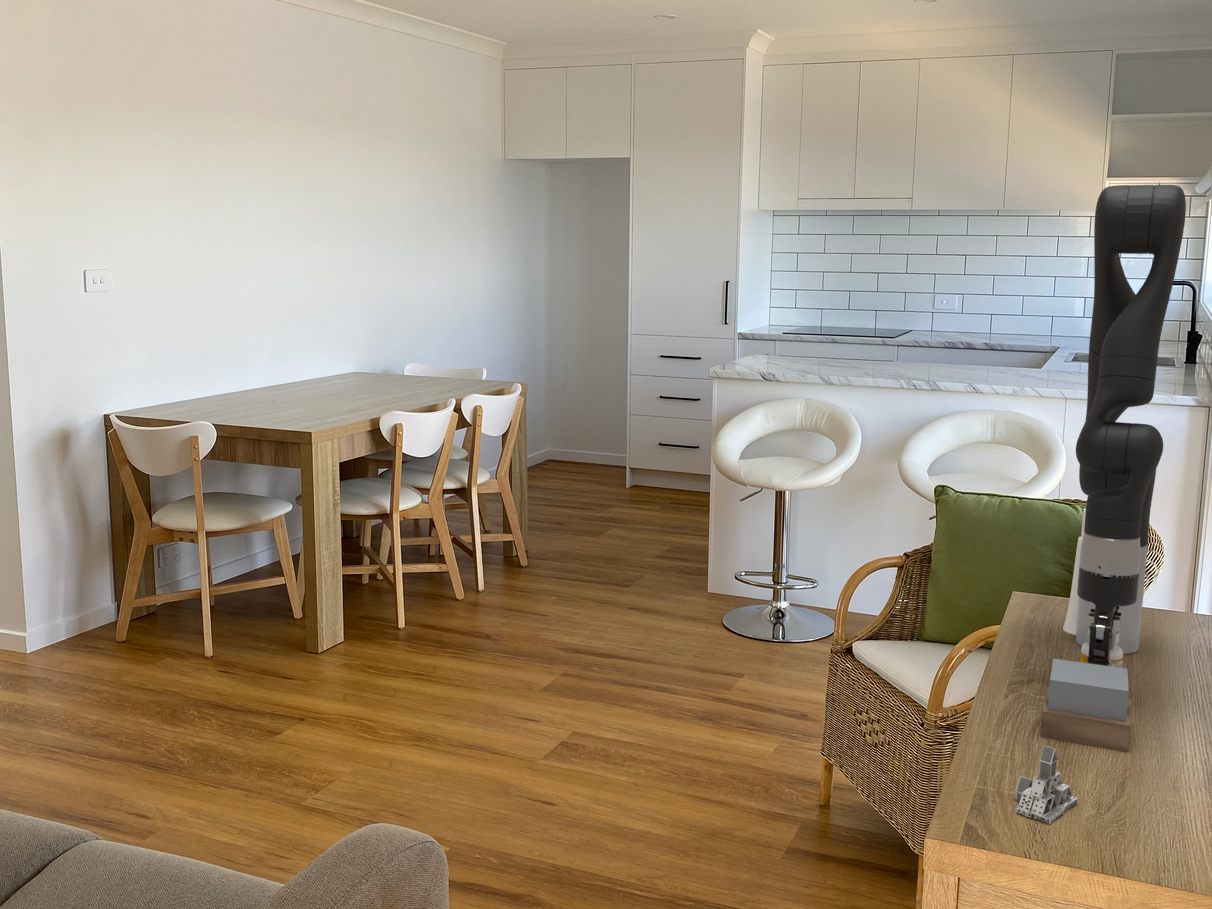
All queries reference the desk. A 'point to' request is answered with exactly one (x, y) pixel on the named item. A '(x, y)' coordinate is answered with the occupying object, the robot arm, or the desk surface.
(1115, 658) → the supplement bottle
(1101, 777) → the desk surface
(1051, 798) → the house of cards
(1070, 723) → the base block
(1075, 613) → the cosmetic bottle
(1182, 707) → the desk surface
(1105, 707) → the top block
